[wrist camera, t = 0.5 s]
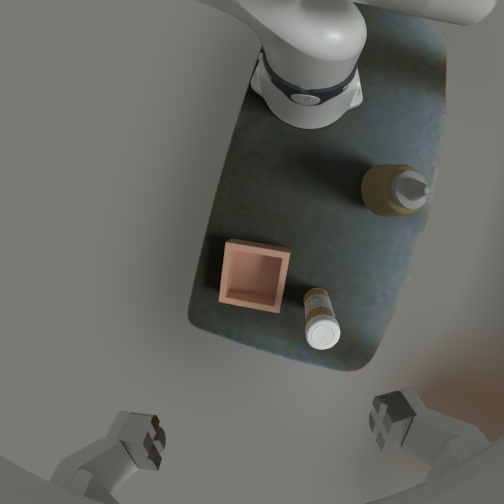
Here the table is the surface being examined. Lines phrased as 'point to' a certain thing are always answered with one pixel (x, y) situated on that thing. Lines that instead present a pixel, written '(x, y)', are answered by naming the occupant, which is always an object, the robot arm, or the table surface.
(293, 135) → the table surface
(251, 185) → the table surface
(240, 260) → the terracotta socket
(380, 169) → the squeeze bottle
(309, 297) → the sprinkles bottle
